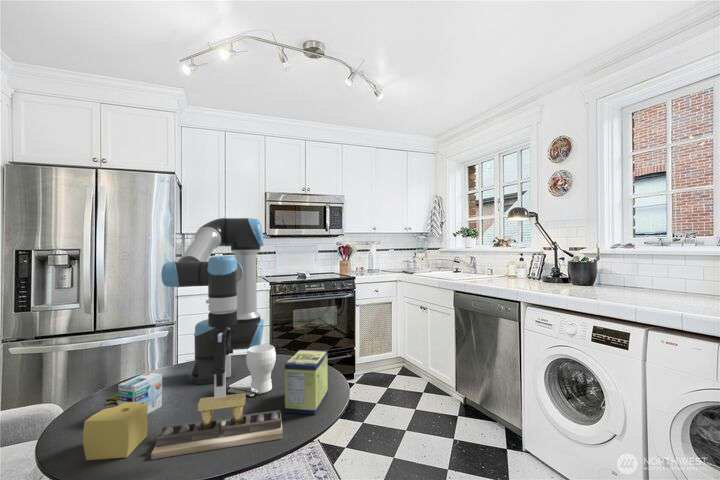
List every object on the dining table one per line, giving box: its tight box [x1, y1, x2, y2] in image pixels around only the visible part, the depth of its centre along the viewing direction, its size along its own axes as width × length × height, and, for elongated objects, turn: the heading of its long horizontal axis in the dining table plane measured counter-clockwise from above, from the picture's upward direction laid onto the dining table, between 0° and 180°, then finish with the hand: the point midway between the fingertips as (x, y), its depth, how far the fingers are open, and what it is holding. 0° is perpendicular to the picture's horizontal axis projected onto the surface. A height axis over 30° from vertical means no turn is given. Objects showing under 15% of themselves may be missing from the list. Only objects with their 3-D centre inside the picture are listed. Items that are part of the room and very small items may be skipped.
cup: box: [245, 344, 277, 394], centre depth 124 cm, size 11×11×15 cm
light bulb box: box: [117, 372, 163, 415], centre depth 107 cm, size 11×7×11 cm, turn 166°
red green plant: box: [104, 393, 118, 405], centre depth 118 cm, size 12×12×5 cm
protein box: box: [284, 349, 329, 416], centre depth 113 cm, size 10×16×16 cm
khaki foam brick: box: [197, 392, 247, 430], centre depth 94 cm, size 4×12×9 cm, turn 106°
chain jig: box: [150, 409, 284, 460], centre depth 94 cm, size 12×32×4 cm, turn 106°
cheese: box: [82, 402, 149, 461], centre depth 89 cm, size 10×11×10 cm
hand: (223, 386), depth 94 cm, fingers open, 13 cm apart
